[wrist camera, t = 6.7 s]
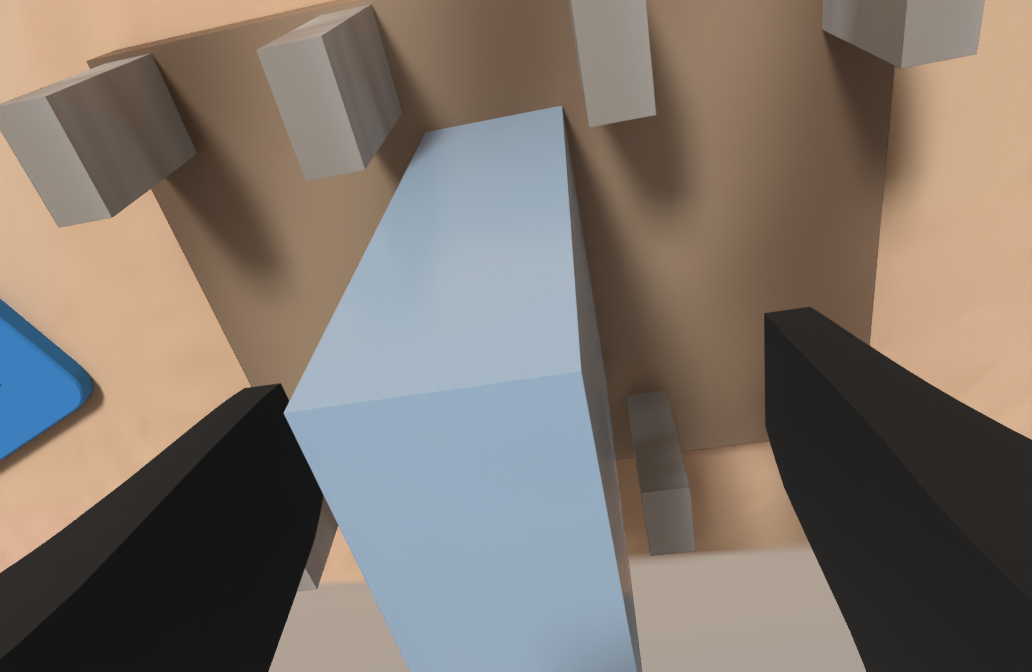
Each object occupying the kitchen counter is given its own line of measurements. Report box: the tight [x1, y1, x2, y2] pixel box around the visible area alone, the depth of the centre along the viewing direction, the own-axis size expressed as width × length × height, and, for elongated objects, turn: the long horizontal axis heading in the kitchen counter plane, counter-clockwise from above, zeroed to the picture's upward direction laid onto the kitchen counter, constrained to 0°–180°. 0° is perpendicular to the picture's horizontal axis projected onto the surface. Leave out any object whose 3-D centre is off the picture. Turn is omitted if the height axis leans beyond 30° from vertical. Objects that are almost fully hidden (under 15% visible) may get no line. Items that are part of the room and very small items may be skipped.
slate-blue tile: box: [284, 106, 642, 672], centre depth 10 cm, size 2×6×8 cm, turn 11°
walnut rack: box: [0, 0, 985, 591], centre depth 13 cm, size 14×11×4 cm
